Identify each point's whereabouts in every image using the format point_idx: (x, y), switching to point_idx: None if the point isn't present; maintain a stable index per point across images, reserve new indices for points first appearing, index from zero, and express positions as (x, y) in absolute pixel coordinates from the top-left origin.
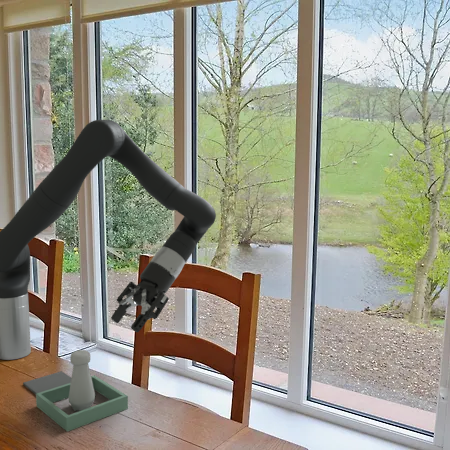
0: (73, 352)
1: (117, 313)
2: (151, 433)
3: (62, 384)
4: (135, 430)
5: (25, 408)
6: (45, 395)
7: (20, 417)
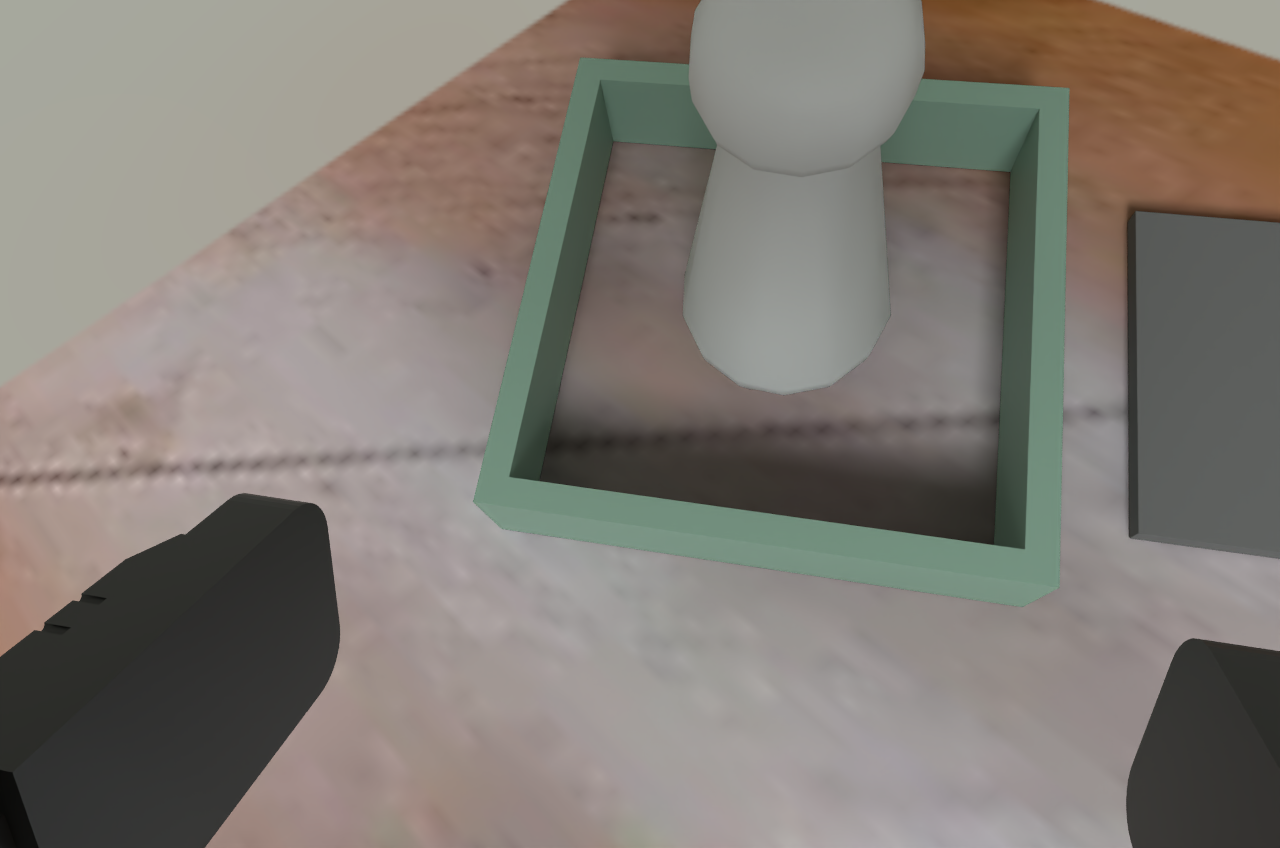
0: None
1: (1270, 824)
2: (159, 410)
3: (1239, 425)
4: (266, 372)
5: None
6: (1031, 154)
7: (967, 35)
